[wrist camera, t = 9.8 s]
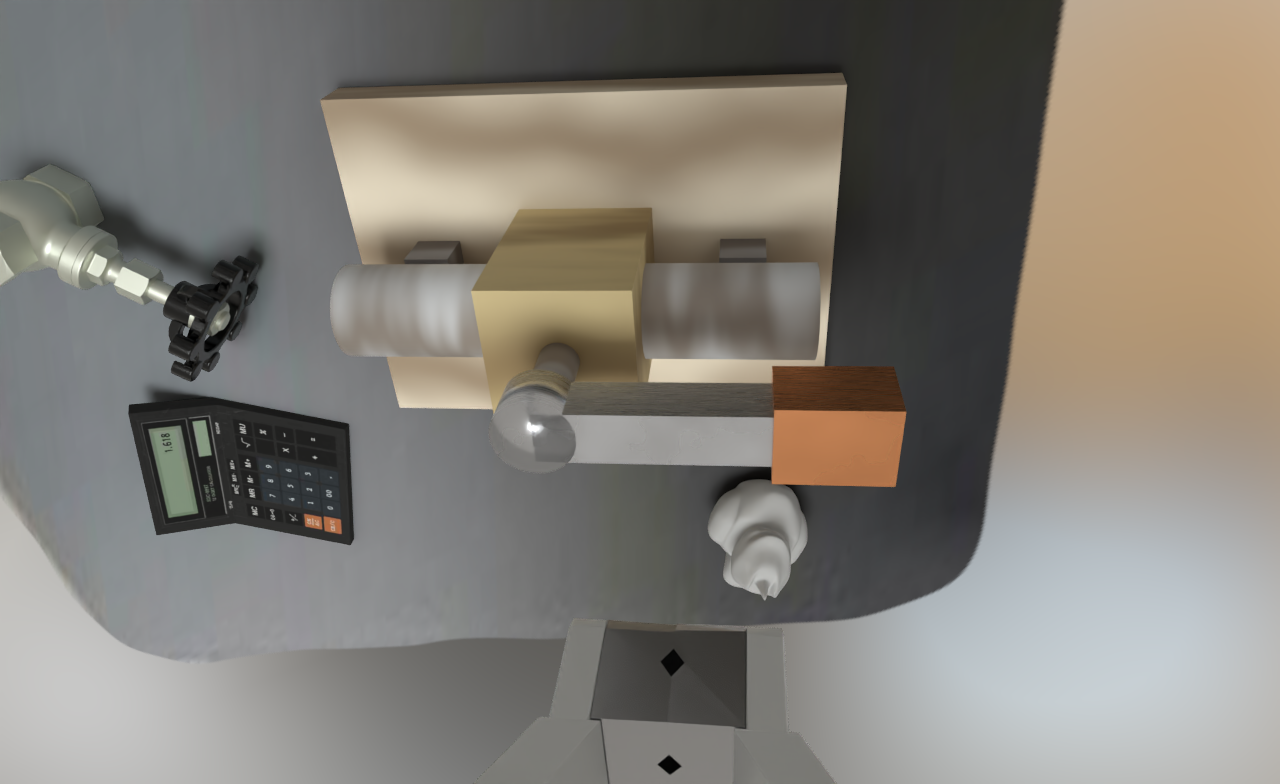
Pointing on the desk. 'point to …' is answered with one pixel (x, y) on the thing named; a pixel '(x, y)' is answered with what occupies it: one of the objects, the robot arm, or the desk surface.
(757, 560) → the white meringue swirl
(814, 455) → the valve lever
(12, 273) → the valve
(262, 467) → the calculator
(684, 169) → the valve stand
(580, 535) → the desk surface
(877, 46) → the desk surface
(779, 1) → the desk surface
